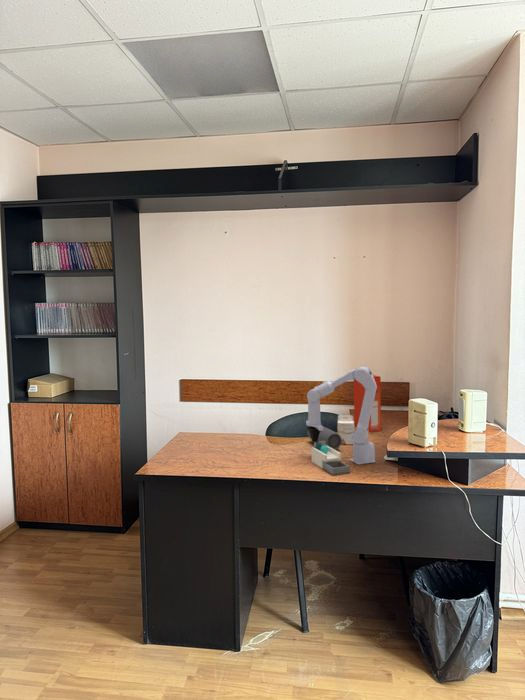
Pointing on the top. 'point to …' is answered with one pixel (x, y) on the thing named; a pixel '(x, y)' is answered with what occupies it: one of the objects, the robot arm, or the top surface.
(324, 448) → the ball
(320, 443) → the grey rectangular block
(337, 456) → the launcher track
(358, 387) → the tall red panel
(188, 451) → the top surface
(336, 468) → the grey open tray
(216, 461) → the top surface
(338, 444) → the bluetooth speaker
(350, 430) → the ink cartridge box
